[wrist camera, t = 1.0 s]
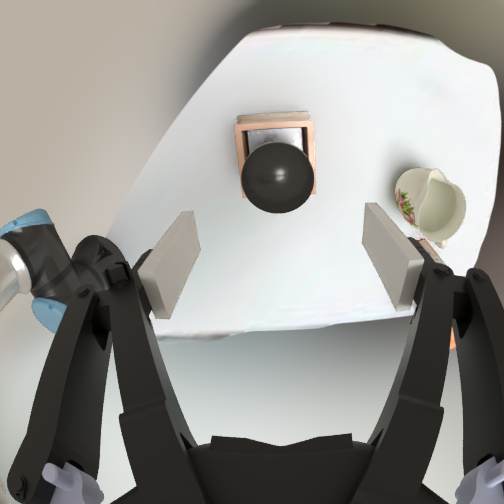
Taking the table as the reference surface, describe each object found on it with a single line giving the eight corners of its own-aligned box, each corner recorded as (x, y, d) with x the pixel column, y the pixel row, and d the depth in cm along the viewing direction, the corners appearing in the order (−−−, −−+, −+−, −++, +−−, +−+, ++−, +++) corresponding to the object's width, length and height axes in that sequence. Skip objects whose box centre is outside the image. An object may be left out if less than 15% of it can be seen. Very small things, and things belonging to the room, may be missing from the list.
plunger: (253, 179, 41) (242, 218, 28) (248, 130, 37) (233, 143, 24) (303, 176, 40) (317, 214, 27) (300, 127, 36) (316, 138, 23)
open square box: (245, 180, 49) (236, 205, 38) (238, 115, 43) (225, 119, 32) (311, 176, 48) (323, 200, 37) (308, 111, 42) (320, 113, 31)
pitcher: (402, 238, 52) (429, 275, 40) (373, 163, 45) (404, 184, 33) (441, 217, 49) (475, 248, 37) (418, 140, 42) (458, 156, 30)
